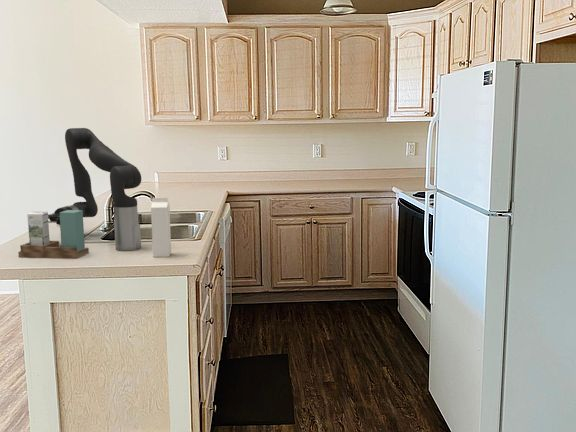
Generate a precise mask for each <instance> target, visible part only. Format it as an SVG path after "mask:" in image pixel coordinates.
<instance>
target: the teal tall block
mask: <svg viewBox="0 0 576 432" xmlns="http://www.w3.org/2000/svg"><path fill="white" fill-rule="evenodd" d="M59 227H60V231H59V232H60V242H61V247H75V248H77V252H79V251H81V250H83V249H85V248H86V246H85V245H86V243H85V229H84V228H85V226H84V217H83V210H67V211H63V212H60V225H59Z"/></svg>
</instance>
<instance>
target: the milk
mask: <svg viewBox="0 0 576 432" xmlns="http://www.w3.org/2000/svg"><path fill="white" fill-rule="evenodd" d="M170 209H171V208H170V203H169V198H168V197H152V198H151V205H150V213H151V214H150V215H151V219H150V220H151V239H152V241H151V242H152V243H151V244H152V257H153V258H163V257H164V258H169V257H170V256H171V255H172V241H171V239H172V237H171V215H170V214H171V213H170V211H171V210H170Z"/></svg>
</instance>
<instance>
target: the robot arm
mask: <svg viewBox="0 0 576 432" xmlns="http://www.w3.org/2000/svg"><path fill="white" fill-rule="evenodd" d="M64 140H65V147H66V151H67V154H68V159H69V163H70V167H71V171H72V176H73V184H74V193H75V196H76V197H79V198H80V197H81V198H83V199H84V200H85V201H78V202H77V201H76V202H74V203H73V204H71V205H65V206H61V207H58V208H57V209H55V211H54V212H53V213H48V223H49V224H56V225H58V226H60V212H63V211H67V210H83V218H94V217H96V216H97V214H98V211H99V209H98V208H99V207H98V205H97V201H96V200H95V196H94V194H93V190H92V179H91V175H90V173H89V171H88V170H87V169H86V167H85V166H84V165H83V163H82V162H81V160H80V158H79V156H78V155H79V154H78V151H77V150H88V158H89V160H90V162H91V163H92V164H94V165H95V166H96V167H97V168H98V169H100V170H101V171H104V172H107V173H109V185H110V192H111V193H110V194H111V201H112V205H113V206H112V208H113V209H112V210H113V224H114V225H113V227H114V242H115V243H114V245H115V250H116V251H123V252H124V251H136V250H138V249H140V248H141V247H142V237H141V235H142V234H141V224H140V223H139V217H138V216H139V214H138V213H139V211H138V210H139V209H138V200H137V198H136V197H132V196H129V195H127V194H126V193H125V192H126V191H125V190H129V189H135V188H137V187H139V186H140V185H141V183H142V174H141V172H140V169H139V168H138V167H137V166H135V165H134V164H132V163H130V162H128V161H127V160H125V159H124V158H122V157H121V156H120V155H118V154H117V153H116V152H114V151H113V149H111V148H110V147H108V145H106V144H104V143H103V142H102V141H101V140H100V139H99V138H98V137H97V136H96V134H94V133H93V131H92V130H91V129H89V128H86V127H72V128H68V129H66V130H65V134H64Z"/></svg>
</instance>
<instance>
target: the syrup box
mask: <svg viewBox="0 0 576 432" xmlns="http://www.w3.org/2000/svg"><path fill="white" fill-rule="evenodd" d="M48 214H49V213H48V211H30V212H28V213H27V214H26V217H27V228H28V237H29V238H28V239H29V242H30V245H47V244H49V243H50V241H51V240H50V225H49V224H50V223H48V221H49V219H48ZM29 242H28V243H29Z"/></svg>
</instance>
